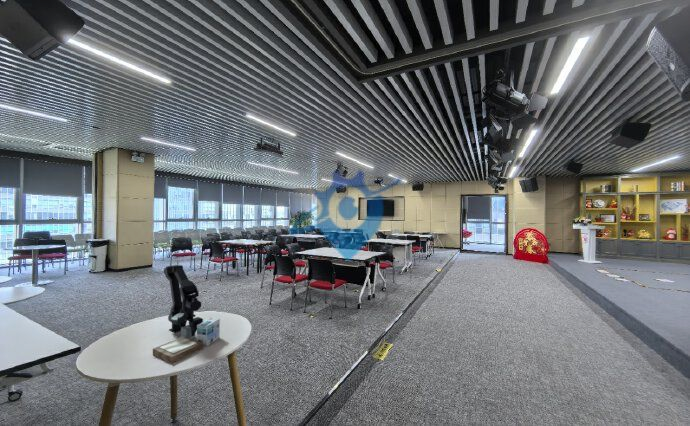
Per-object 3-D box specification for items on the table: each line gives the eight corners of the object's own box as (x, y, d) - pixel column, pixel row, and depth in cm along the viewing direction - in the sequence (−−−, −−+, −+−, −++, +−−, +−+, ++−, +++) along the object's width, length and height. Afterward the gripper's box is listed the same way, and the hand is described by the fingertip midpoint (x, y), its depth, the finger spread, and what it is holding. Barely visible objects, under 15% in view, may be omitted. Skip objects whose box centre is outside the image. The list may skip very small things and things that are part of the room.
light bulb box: (207, 346, 148) (207, 326, 148) (196, 344, 149) (196, 324, 149) (220, 337, 158) (220, 318, 158) (209, 336, 160) (209, 317, 159)
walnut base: (152, 354, 138) (152, 347, 138) (184, 341, 153) (184, 335, 153) (171, 363, 131) (171, 356, 131) (202, 348, 145) (202, 342, 145)
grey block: (180, 338, 156) (181, 327, 156) (189, 334, 161) (189, 324, 161) (186, 340, 154) (186, 329, 154) (194, 336, 159) (194, 326, 158)
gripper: (163, 308, 155) (163, 335, 155) (184, 314, 146) (183, 343, 146) (183, 302, 164) (183, 328, 165) (203, 307, 156) (203, 335, 156)
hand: (187, 333), depth 158 cm, fingers open, 9 cm apart
